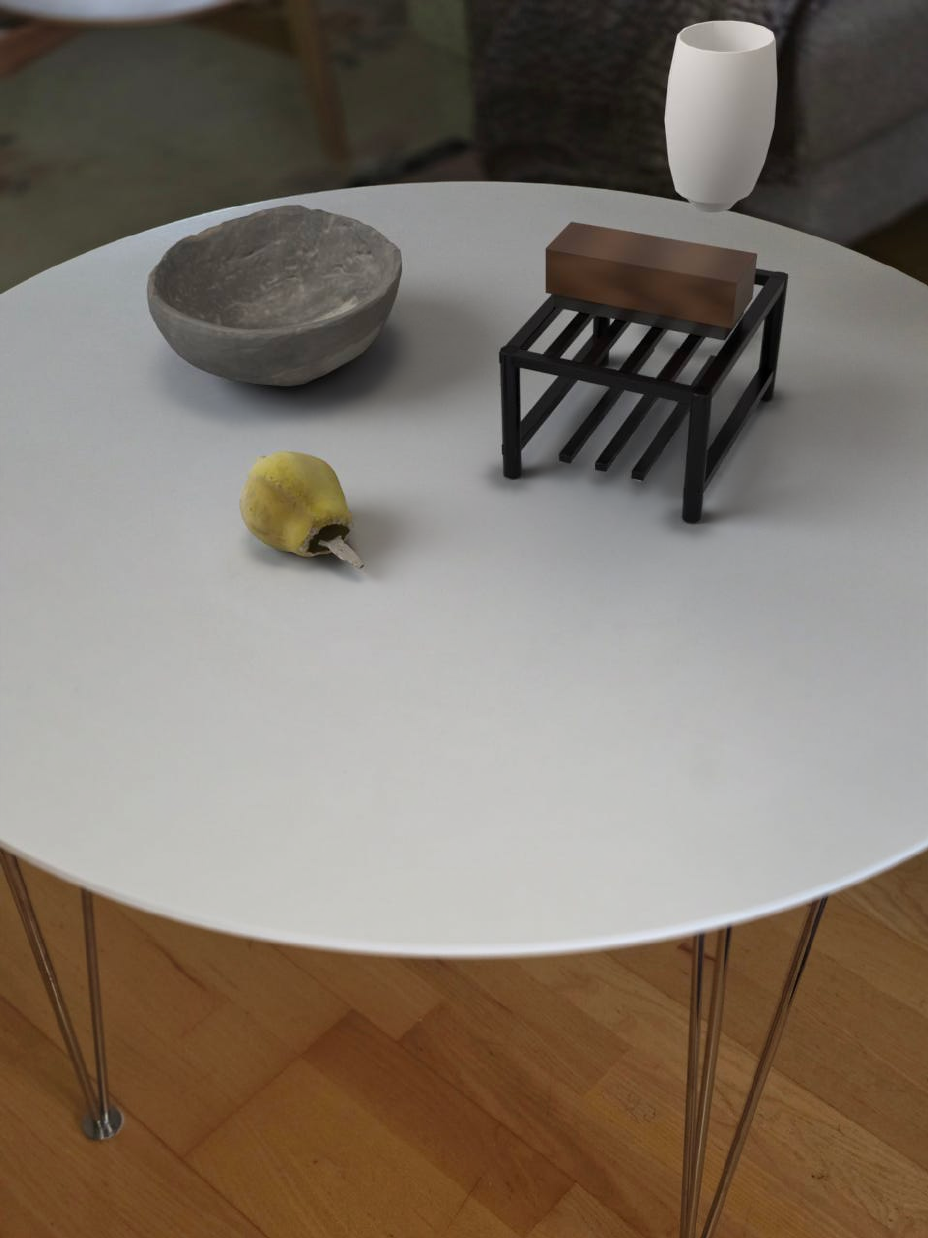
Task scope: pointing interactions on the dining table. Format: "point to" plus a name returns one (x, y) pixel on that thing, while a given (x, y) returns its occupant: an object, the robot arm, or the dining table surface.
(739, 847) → the dining table surface
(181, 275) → the bowl
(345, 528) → the fruit
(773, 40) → the cup
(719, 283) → the brown wooden block
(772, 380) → the rack
